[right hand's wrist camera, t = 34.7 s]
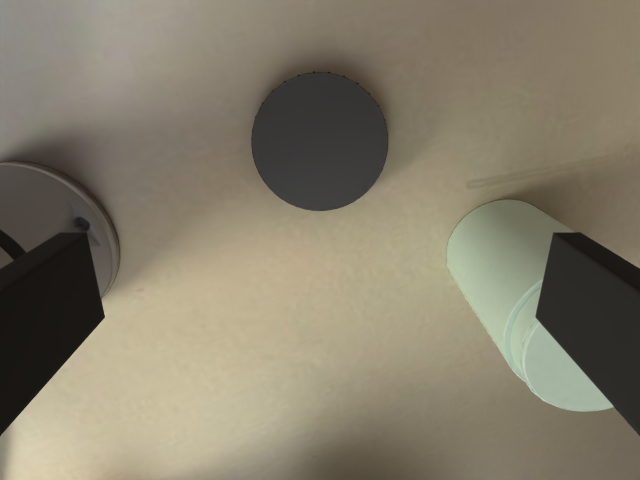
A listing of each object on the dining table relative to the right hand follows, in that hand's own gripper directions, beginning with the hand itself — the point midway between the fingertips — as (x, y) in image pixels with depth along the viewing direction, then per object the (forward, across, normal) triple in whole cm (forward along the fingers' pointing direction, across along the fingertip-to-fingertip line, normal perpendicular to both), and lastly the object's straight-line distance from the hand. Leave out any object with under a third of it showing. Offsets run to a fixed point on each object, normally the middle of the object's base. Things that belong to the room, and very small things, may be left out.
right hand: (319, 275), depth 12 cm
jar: (+26, +17, -10) cm, 33 cm away
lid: (+24, 0, 0) cm, 24 cm away
